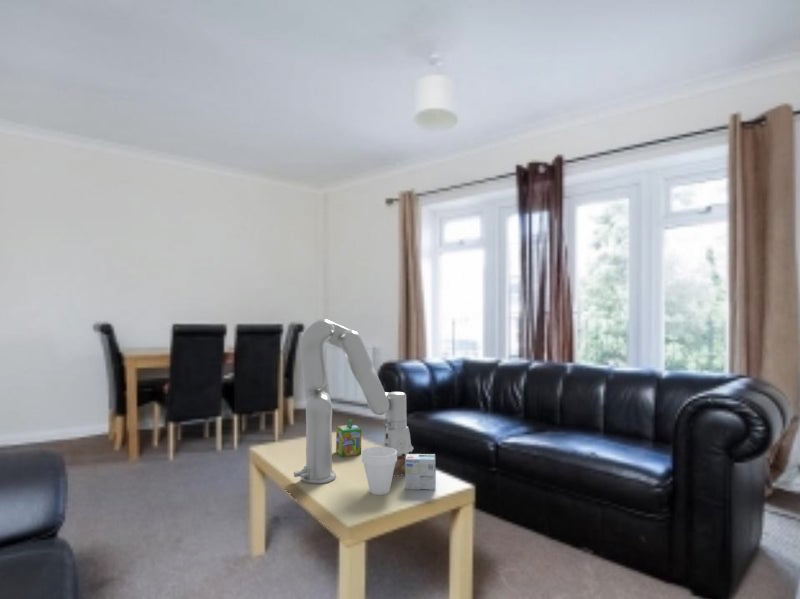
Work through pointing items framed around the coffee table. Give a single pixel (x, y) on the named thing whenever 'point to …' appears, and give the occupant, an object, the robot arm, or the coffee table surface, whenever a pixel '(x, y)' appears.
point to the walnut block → (399, 465)
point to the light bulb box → (420, 471)
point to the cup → (379, 468)
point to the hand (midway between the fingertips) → (397, 470)
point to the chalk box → (348, 440)
